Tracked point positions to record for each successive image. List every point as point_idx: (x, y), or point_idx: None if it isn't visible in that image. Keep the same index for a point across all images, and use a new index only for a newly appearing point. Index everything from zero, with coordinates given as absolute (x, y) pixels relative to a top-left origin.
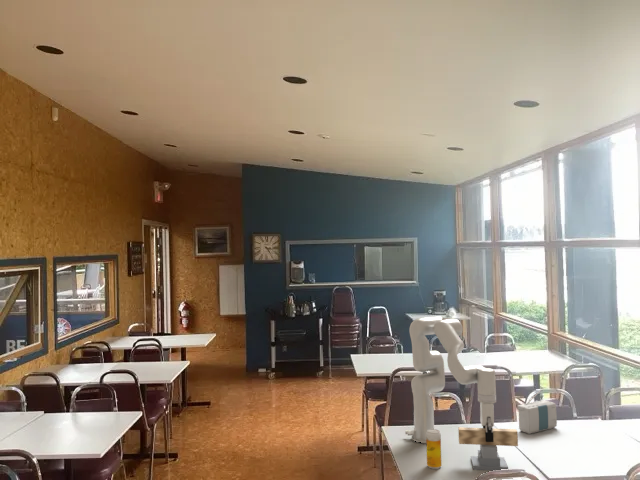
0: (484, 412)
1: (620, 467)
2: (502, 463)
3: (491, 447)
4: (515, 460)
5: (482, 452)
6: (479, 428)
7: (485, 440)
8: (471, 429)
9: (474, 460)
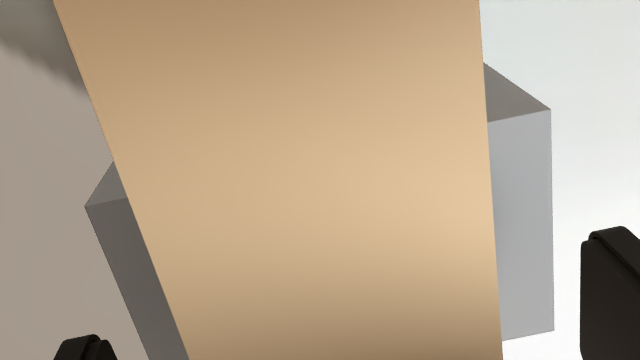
0: None
1: None
2: None
3: (146, 339)
4: (516, 340)
5: (112, 164)
6: (439, 315)
7: (83, 342)
8: (186, 39)
9: None
